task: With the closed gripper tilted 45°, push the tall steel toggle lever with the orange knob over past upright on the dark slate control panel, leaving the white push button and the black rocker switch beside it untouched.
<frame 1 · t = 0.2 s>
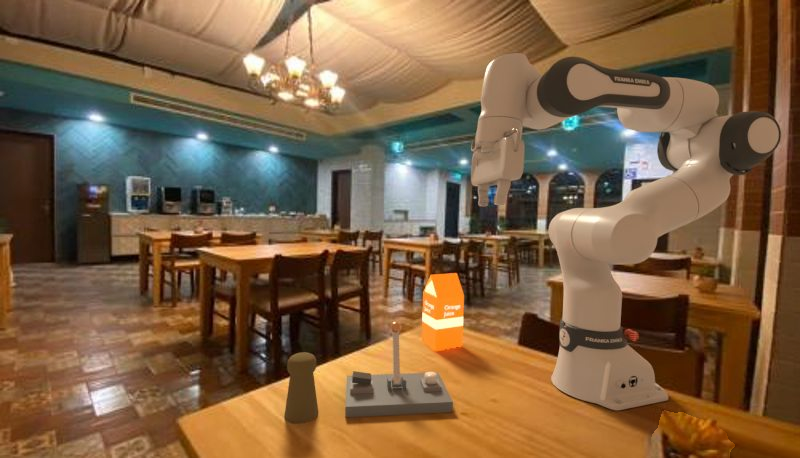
hand: (490, 205, 73), 39 cm above the table, tool pointing down, fingers open, 8 cm apart
rocker switch: (361, 378, 72), point 4 cm above the table, hinge at -10.0°
toggle lever: (396, 353, 74), point 8 cm above the table, hinge at -22.0°
cork: (301, 414, 66), on the table
orange juice: (441, 344, 101), on the table
push button: (430, 377, 73), point 4 cm above the table, slide at 0.0 cm
control panel: (396, 397, 73), on the table
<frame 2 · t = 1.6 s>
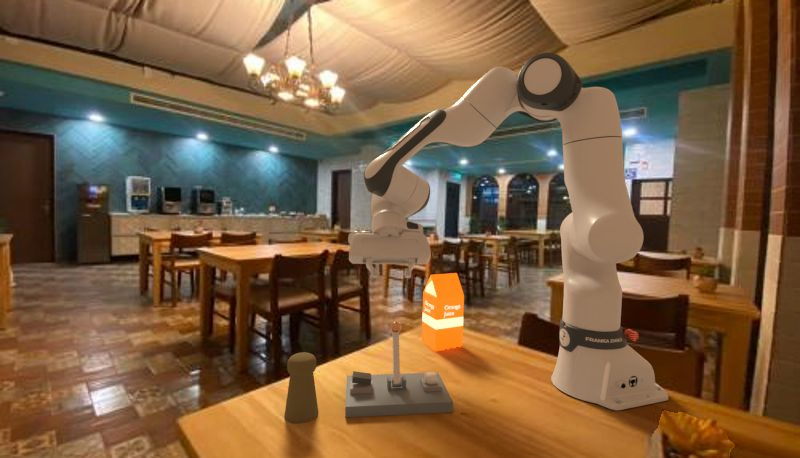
hand: (391, 276, 85), 22 cm above the table, tool tilted 45°, fingers open, 7 cm apart
nothing on the table moved.
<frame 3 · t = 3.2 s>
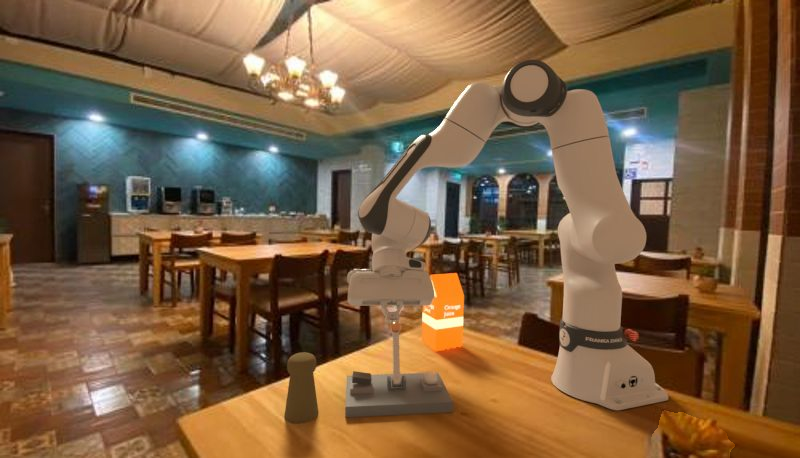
hand: (392, 321, 80), 13 cm above the table, tool tilted 45°, fingers closed
nothing on the table moved.
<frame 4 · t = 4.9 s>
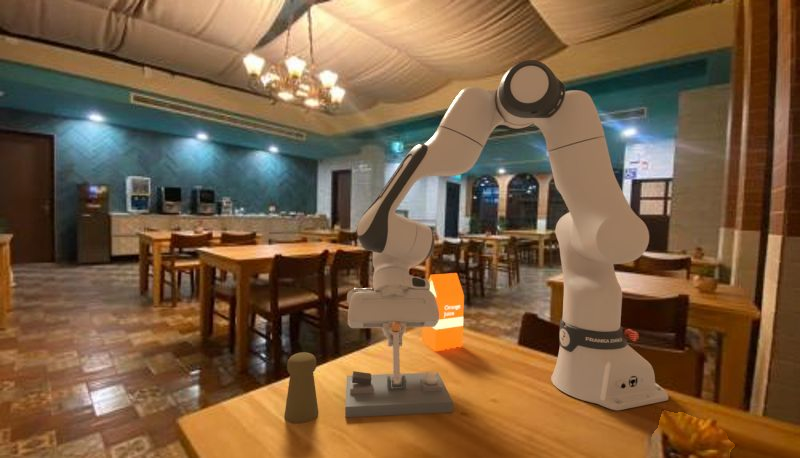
hand: (395, 345, 76), 9 cm above the table, tool tilted 45°, fingers closed, pressing on toggle lever
toggle lever: (396, 353, 74), point 8 cm above the table, hinge at -21.7°, touching gripper
everything else where it was.
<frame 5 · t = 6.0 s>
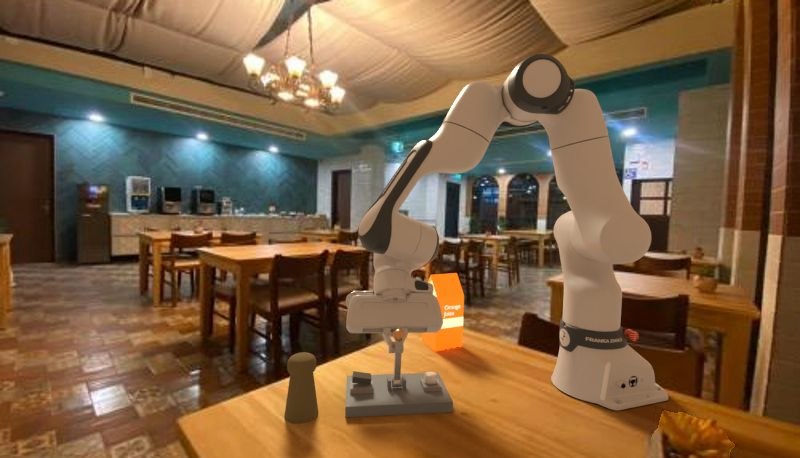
hand: (396, 352, 72), 9 cm above the table, tool tilted 45°, fingers closed, pressing on toggle lever
toggle lever: (397, 358, 71), point 9 cm above the table, hinge at 11.2°, touching gripper
everything else where it was.
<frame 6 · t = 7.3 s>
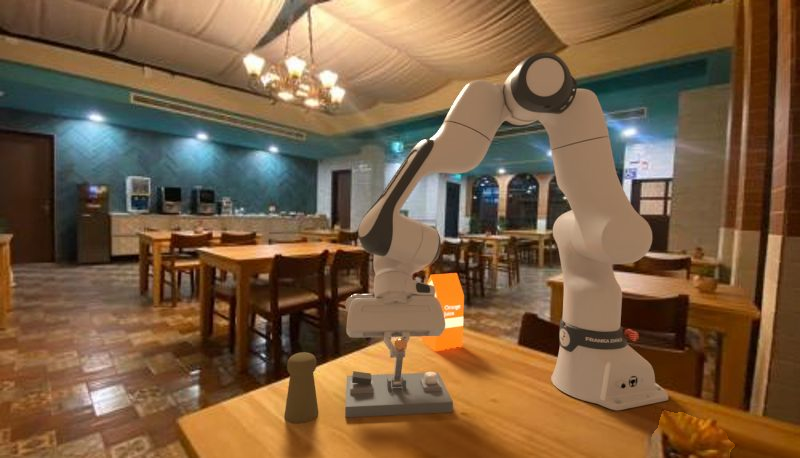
hand: (397, 356, 70), 9 cm above the table, tool tilted 45°, fingers closed, pressing on toggle lever
toggle lever: (398, 363, 70), point 8 cm above the table, hinge at 26.5°, touching gripper
everything else where it was.
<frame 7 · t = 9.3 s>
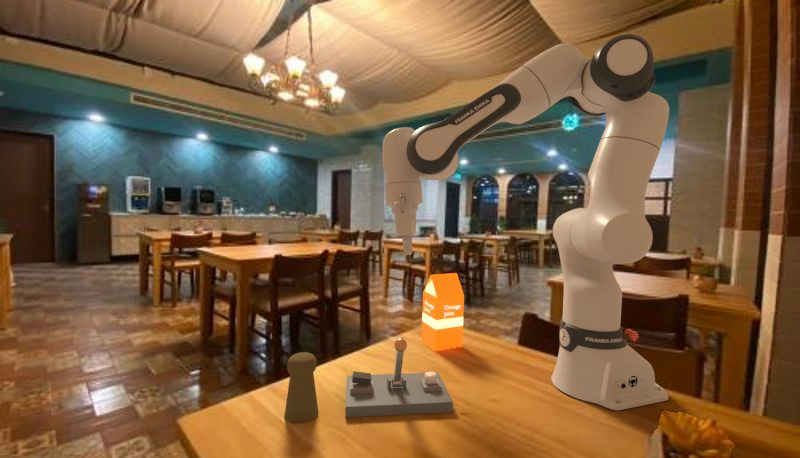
hand: (408, 254, 86), 27 cm above the table, tool pointing down, fingers closed
toggle lever: (398, 363, 70), point 8 cm above the table, hinge at 26.6°
everything else where it was.
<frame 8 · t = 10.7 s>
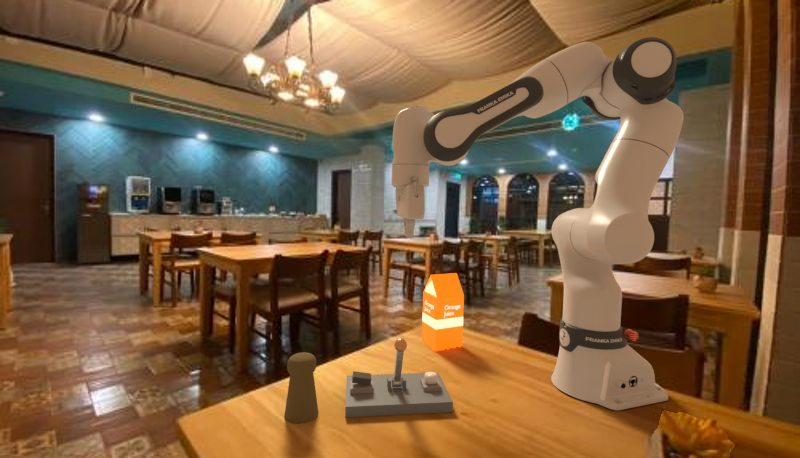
hand: (408, 237, 86), 31 cm above the table, tool pointing down, fingers closed
nothing on the table moved.
at the end: toggle lever at +27° (first picture: -22°); rocker switch at -10° (first picture: -10°); push button slide at 0.0 cm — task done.
